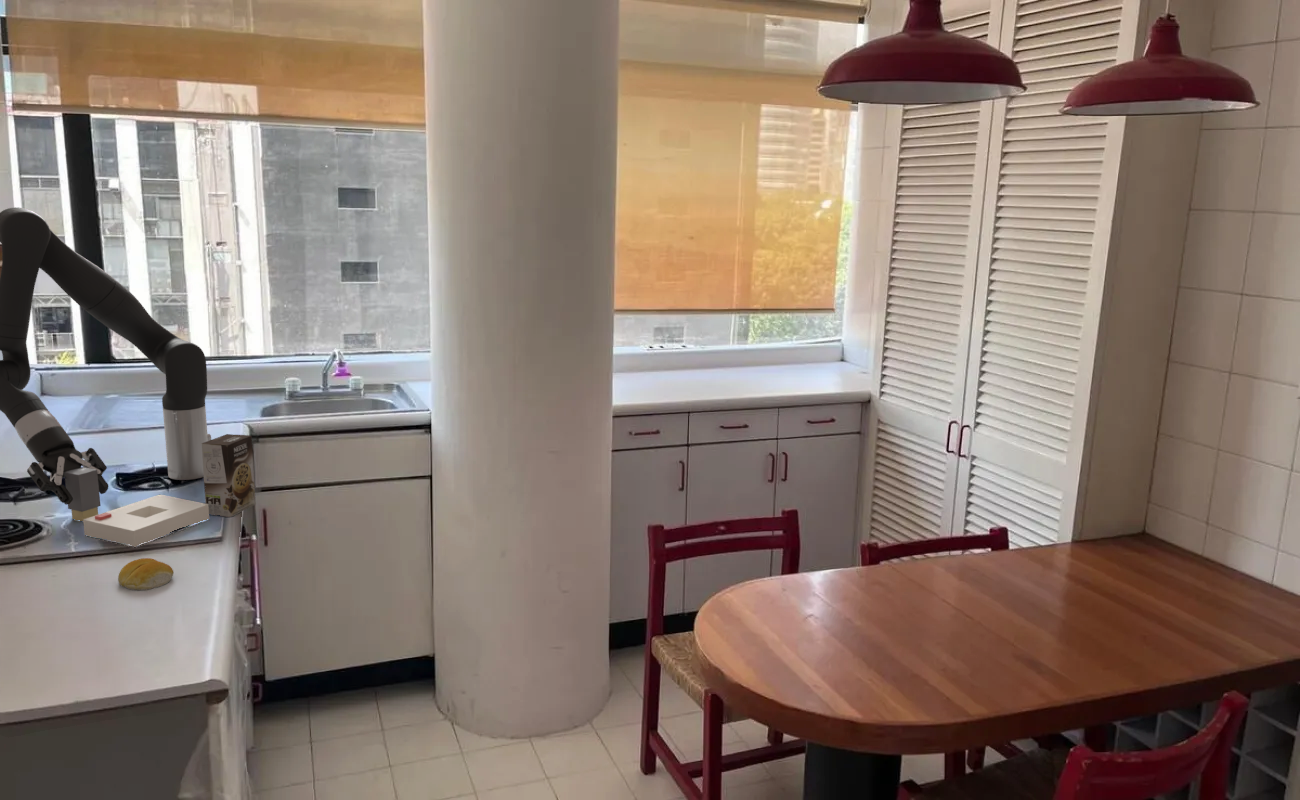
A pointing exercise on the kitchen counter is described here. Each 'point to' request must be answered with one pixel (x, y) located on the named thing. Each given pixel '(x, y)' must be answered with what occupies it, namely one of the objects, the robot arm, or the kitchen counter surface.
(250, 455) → the coffee box
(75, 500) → the plug
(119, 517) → the socket plate
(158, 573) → the bread roll
